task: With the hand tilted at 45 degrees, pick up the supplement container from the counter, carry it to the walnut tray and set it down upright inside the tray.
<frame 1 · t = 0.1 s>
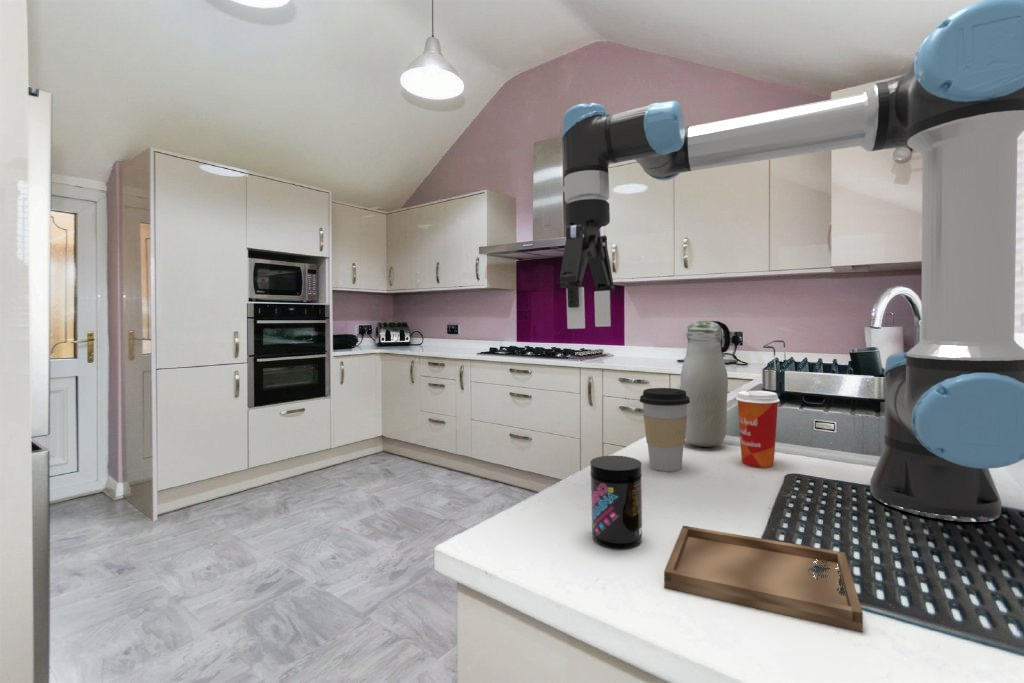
hand: (590, 327, 85), 28 cm above the worktop, tool pointing down, fingers open, 13 cm apart
supplement container: (616, 540, 67), on the worktop
tray: (756, 577, 56), on the worktop
glass bottle: (704, 446, 111), on the worktop
paper cup: (757, 464, 97), on the worktop
coffee cup: (665, 467, 97), on the worktop
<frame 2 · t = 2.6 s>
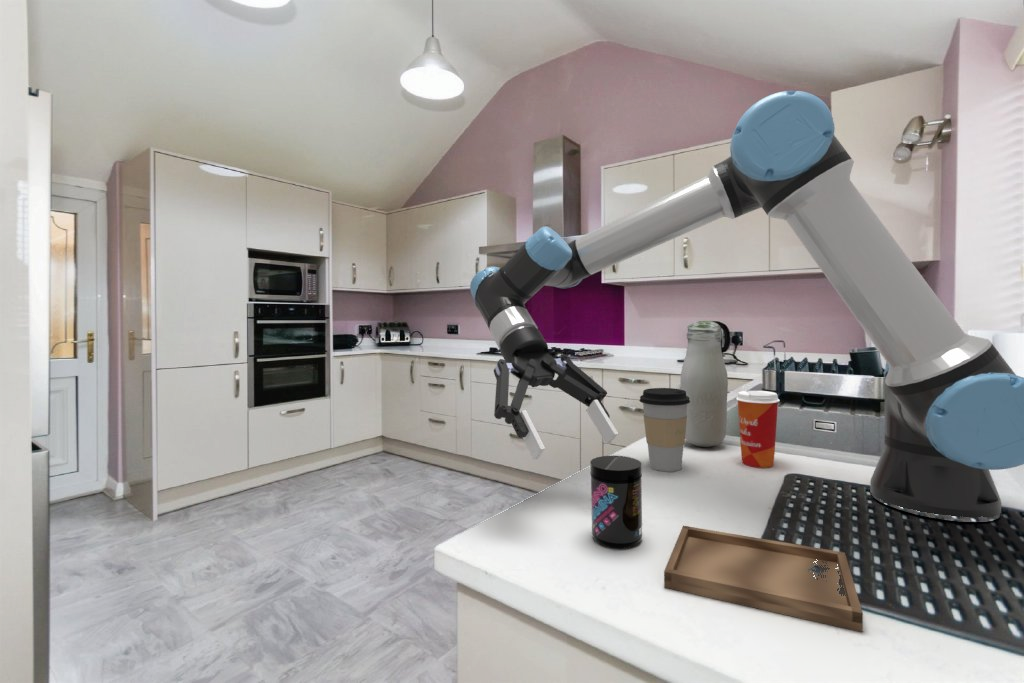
hand: (577, 446, 72), 11 cm above the worktop, tool tilted 45°, fingers open, 13 cm apart
nothing on the worktop moved.
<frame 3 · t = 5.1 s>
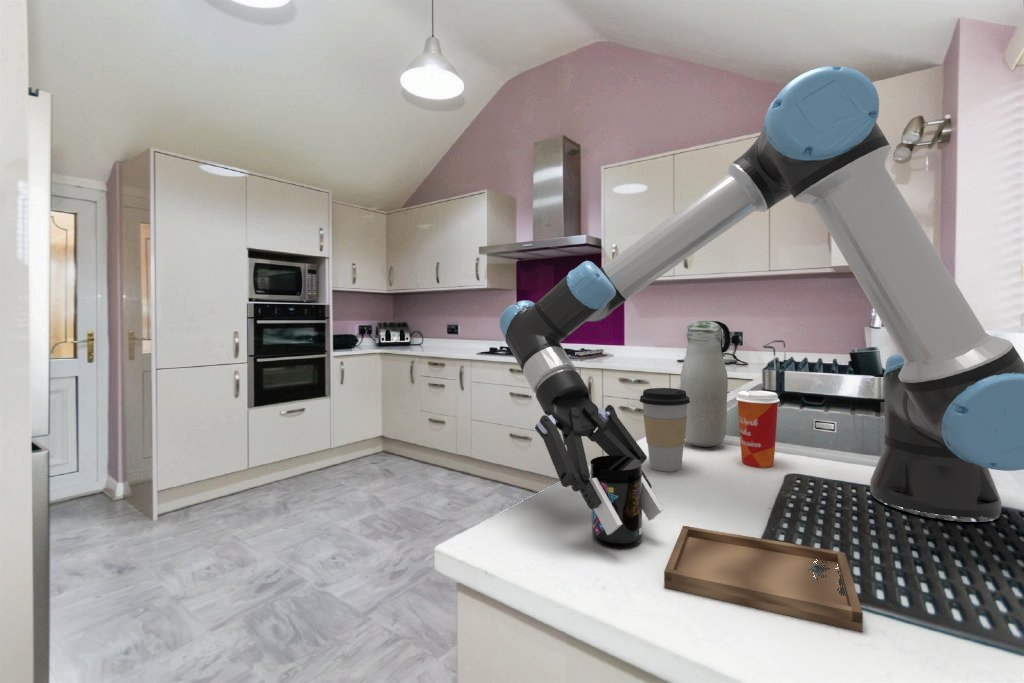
hand: (636, 521, 63), 3 cm above the worktop, tool tilted 45°, fingers closed on supplement container, 7 cm apart
supplement container: (617, 539, 67), on the worktop, touching gripper
everything else where it was.
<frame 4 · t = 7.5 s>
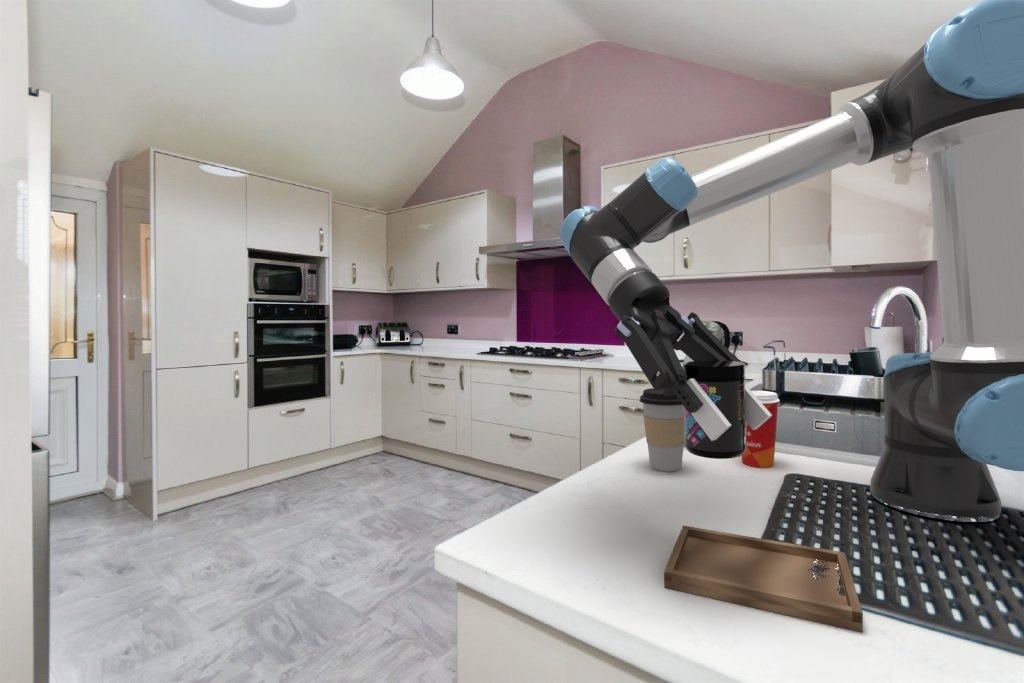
hand: (742, 427, 55), 17 cm above the worktop, tool tilted 45°, fingers closed on supplement container, 7 cm apart
supplement container: (714, 453, 58), point 14 cm above the worktop, touching gripper
everything else where it was.
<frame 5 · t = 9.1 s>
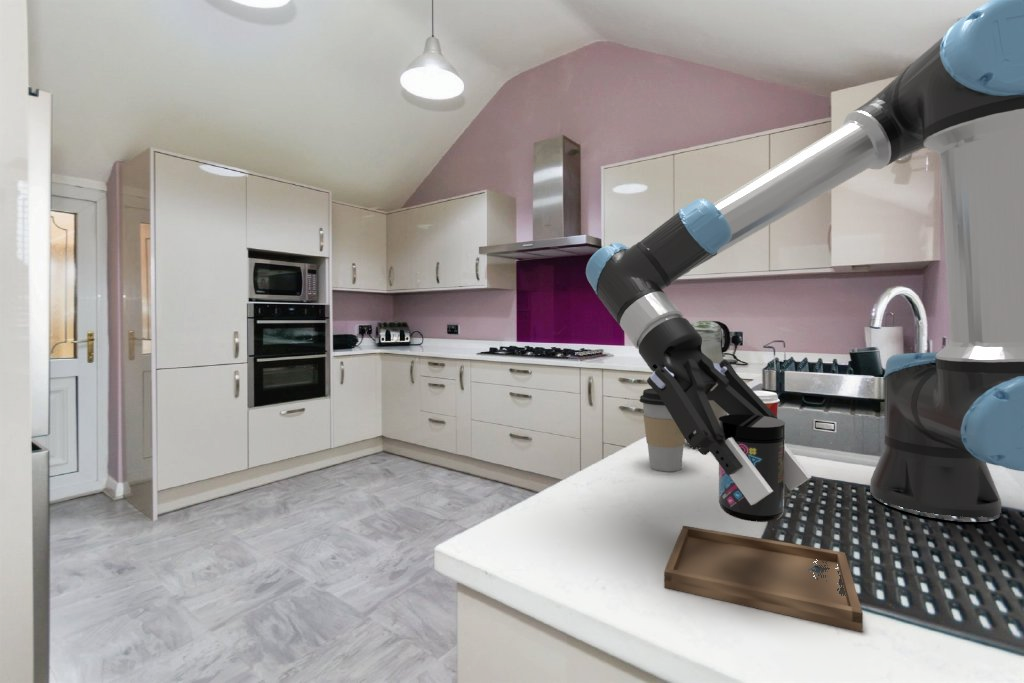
hand: (782, 490, 53), 11 cm above the worktop, tool tilted 45°, fingers closed on supplement container, 7 cm apart
supplement container: (750, 513, 56), point 7 cm above the worktop, touching gripper
everything else where it was.
when the fingers open (6 cm above the worktop, at t = 10.4 s): supplement container drops 2 cm, resting on tray.
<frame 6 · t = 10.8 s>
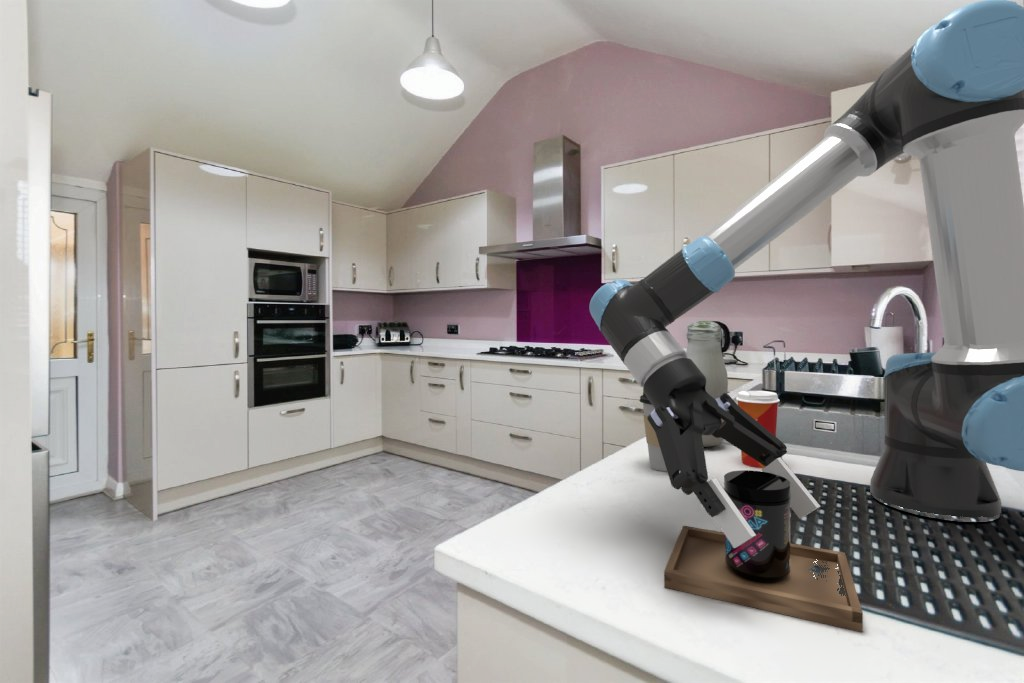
hand: (779, 526, 53), 7 cm above the worktop, tool tilted 45°, fingers open, 12 cm apart
supplement container: (756, 571, 56), point 1 cm above the worktop, touching tray
everything else where it was.
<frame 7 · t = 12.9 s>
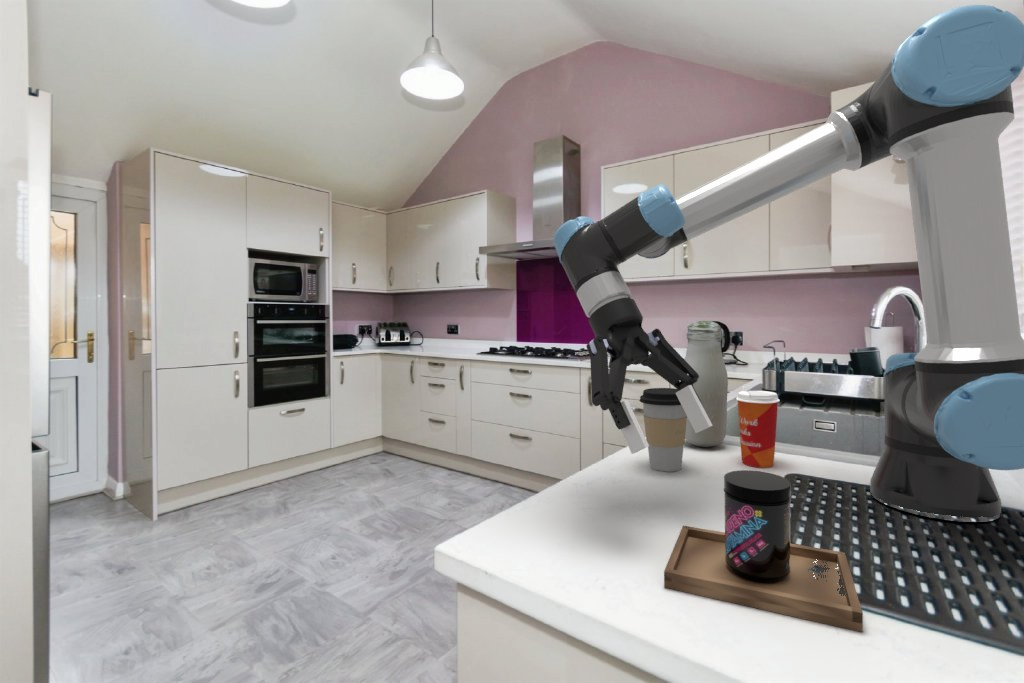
hand: (674, 439, 68), 13 cm above the worktop, tool tilted 30°, fingers open, 13 cm apart
nothing on the worktop moved.
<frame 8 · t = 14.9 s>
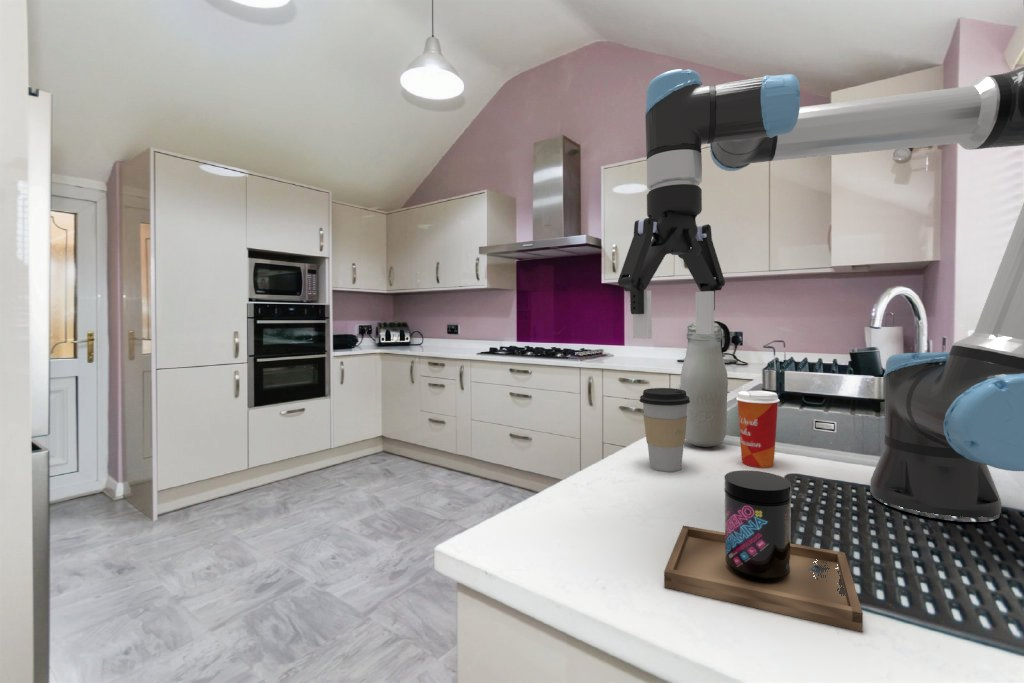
hand: (675, 336, 72), 27 cm above the worktop, tool pointing down, fingers open, 13 cm apart
nothing on the worktop moved.
at the end: supplement container inside the target area on the tray (0.1 cm from its centre), point 0.6 cm above the tray's base; supplement container tilted 0°; the gripper is holding nothing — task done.
